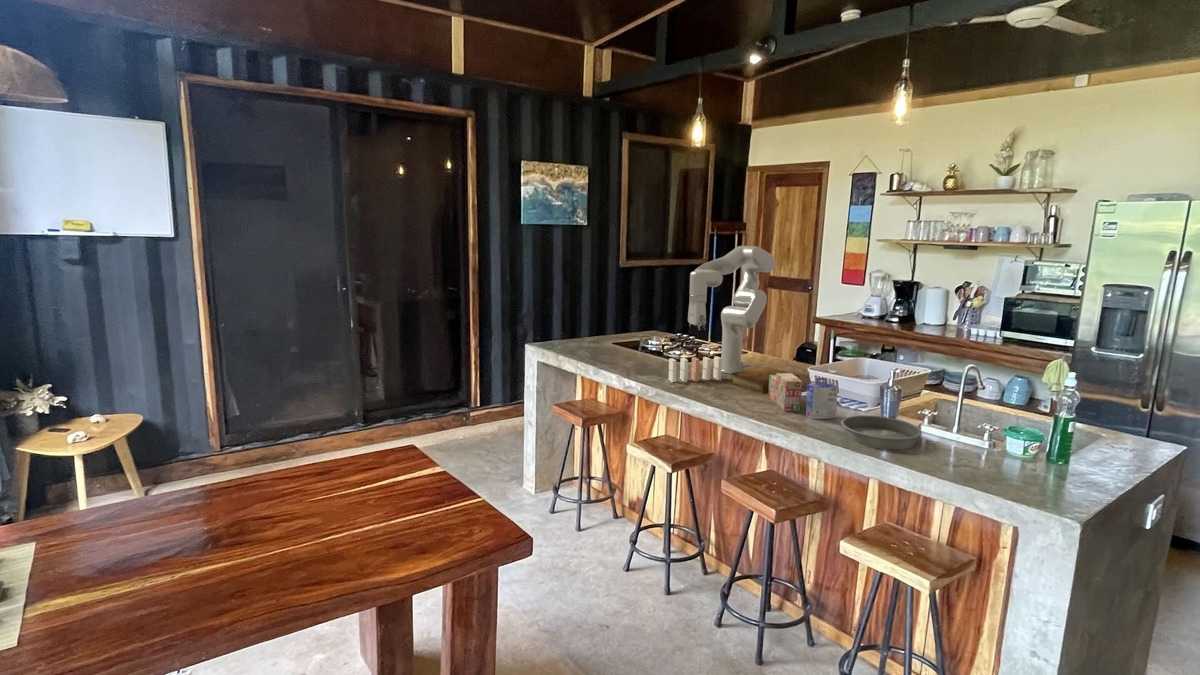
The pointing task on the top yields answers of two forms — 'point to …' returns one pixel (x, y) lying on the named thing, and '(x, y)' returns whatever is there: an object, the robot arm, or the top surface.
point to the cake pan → (900, 440)
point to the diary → (756, 378)
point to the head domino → (672, 370)
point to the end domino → (717, 367)
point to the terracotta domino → (695, 369)
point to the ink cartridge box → (821, 400)
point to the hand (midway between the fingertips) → (696, 336)
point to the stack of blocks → (785, 391)
